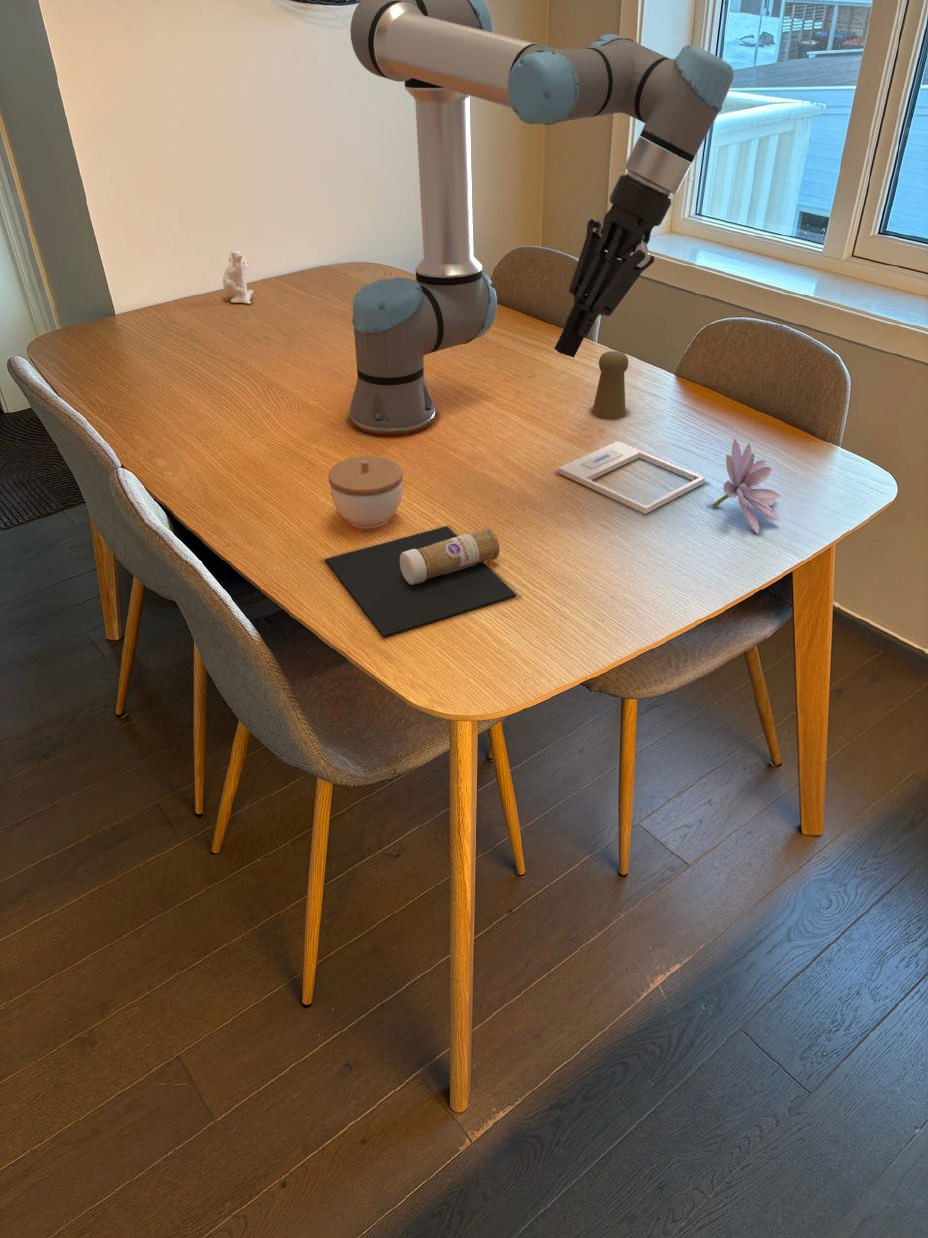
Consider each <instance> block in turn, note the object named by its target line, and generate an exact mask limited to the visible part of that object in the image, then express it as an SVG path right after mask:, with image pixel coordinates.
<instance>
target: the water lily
mask: <svg viewBox="0 0 928 1238" xmlns="http://www.w3.org/2000/svg"><path fill="white" fill-rule="evenodd" d="M754 461H755V452H752V447H751V444H750V443H748V444H747V445H746V446H745V448H744V450H743V452H742V450H741V446H740V444H739V442H738V440H737V439H736V438H733V441H732V447H731V455H730V454H726V455H725V465H726V471H727V475H728V477H729V480H726V481H725V482H724V483H723V486H722V490H723V492H724V494H725V495H723V496H721V497H720V498H719V499H717V500H716V501H715V502H714V503H712V507H713V508H714V509H715V508H717V507H718V506H719V505H720V504H722V503H723V502H724V501H726V500H727V499H728V498H732V499H736V498H737V500H738V503H739V508H740V510H741V512H742V515H743V516H744V518H745V520H746V522H747V523H748V525H749V526H750V527H751V529H752V530H753V531H754V532H755V534H757V535H758V534H759V533H760V525H759V521H758V518H757V515H756V514H755V511H754V510H752V507H753V508H754V509H755V510H757V511H758V512H760V513H761V514H763V515H764V516H766V517H768V518H770V519H772V520H774V521H777V522H780V518H779V516H778V515H777V513H776V512H775V511H773V510H772V508H771V506H773V505H774V504H775V503H776V499H780V498H781V497H782V495H780V493H778V492H776V491H774V490H772V489H769V488H760V487H762V485H760V484H761V483H764V482H765V481H766V480H767V479H768V478H769V476H770V475H771V474H772V468H771V467H770V466H767V463H766V460H764V459H760V460H757V461H756V462H754ZM755 487H756V488H755ZM751 506H752V507H751Z"/></svg>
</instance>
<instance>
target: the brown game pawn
mask: <svg viewBox="0 0 928 1238" xmlns="http://www.w3.org/2000/svg"><path fill="white" fill-rule="evenodd" d="M598 367H599V370H600V375H599V379H598V384H597V389H596V392H595V396H594V402H593V407H592V414H593V415H594V416H595V417H597V418H601V419H604V420H605V419H607V420H617V419H620V418H623V417H625V415H626V384H625V383H626V382H625V381H626V380H625V373H626V372H627V370H628V367H629V358H628V356H627V354H625V353H624V352H621V351H618V350H609V351H606V352H603V353H601V356H600V357H599V359H598Z"/></svg>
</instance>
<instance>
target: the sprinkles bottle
mask: <svg viewBox="0 0 928 1238" xmlns="http://www.w3.org/2000/svg"><path fill="white" fill-rule="evenodd" d="M500 551H501V550H500V542H499V539H498V536H497V534H496V533H495V531H494V530H493V529H491V528H489V527H485V528H483V529H480V530H478V531H473V532H471V533H464V534H461V535H459V536H457V537H455V538H451V539H448V540H445V541H441V542H438V543H435V544H432V545H430V546H426V547H423V548H420V549H411V550H408V551H405V552H403V553H402V554H401V555H400V567H401V571H402V574H403V576H404V578H405V580H406V581H407V582H408V583H409V584H411V585H414V584H418V583H421V582H424V581H425V580H427V579H429V578H433V577H436V576H439V575H445V574H448V573H451V572H454V571H458V570H461V569H464V568H467V567H470V566H473V565H476V564H478V563H481V562H484V563H485V562H486V561H490V560H496V559H497V558H498V557H499V555H500Z"/></svg>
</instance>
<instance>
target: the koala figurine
mask: <svg viewBox="0 0 928 1238" xmlns="http://www.w3.org/2000/svg"><path fill="white" fill-rule="evenodd" d="M246 259H247V258H246V257H245V256H244V255H242V254H241V251H240V250H231V251H230V254H228V262H229V264H228V265H227V267H226V268H225V270H224V274H223V277H222V286H223V289H224V291H225V292H226V293H228V294H235V295H233V296H232V299H230V302H231V303H236V304H237V303H240V304H248V305H249V304H252V302H251V299H252V295H253V293H254V290H252V289H249V290H248V286H247V281H246V270H247V269H248V267H249V265H248V264H247V261H246Z"/></svg>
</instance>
